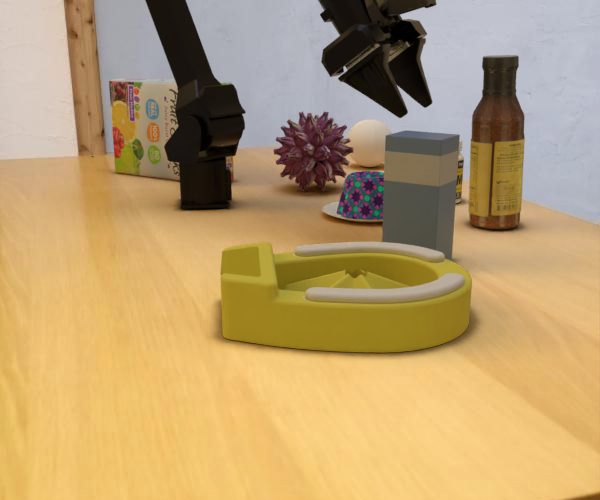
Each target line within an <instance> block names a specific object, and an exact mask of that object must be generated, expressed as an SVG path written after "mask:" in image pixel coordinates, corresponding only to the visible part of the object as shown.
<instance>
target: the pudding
mask: <svg viewBox="0 0 600 500" xmlns="http://www.w3.org/2000/svg"><path fill="white" fill-rule="evenodd" d="M339 197H340V198H339V200H338V201H333V202H330V203H327V204H325V205H323V206H322V207H321V210H322V212H323V213H325V214H326V215H328V216H331V217H334V218H338V219H342V220H346V221H349V222H350V221H351V222H355V223H356V222H358V223H383V200H384V172H382V171H378V170H377V171H370V170H362V171H353V172H351V173H349V174H347V175H346V176H345V178H344V182H343V185H342V190H341V194H340V196H339Z"/></svg>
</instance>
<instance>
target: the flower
mask: <svg viewBox="0 0 600 500" xmlns="http://www.w3.org/2000/svg"><path fill="white" fill-rule="evenodd" d="M298 116H299V119H298V123H296V122H294V121H292V119H291V118H289V119H287V121H286V123H287V124H288V126H289V127H287V126H285V124H284V125H282V126H280V130H281V131H282V132H283V134H284V136H281V137H280V136H276V138H275V142H277V143H279V144H280V145H281V146H280V147H278V148H273V155H276V156H279V158H278V159H276V160H275V164H276V165H277V166H279V165H283V166H284V168H283V170H282V171H281V172H280V173H279V175H280V178H282V179H283V178H285V177H286V176H288V180H289V181H292V180H293V179H294V178H295V180H294V182H295V184H298V191H302V192H305V189H306V187H307V188H311V186H312V184H313V182H314V183H315V184H316V187H318V188H320V190H321V191H322V192H326V190H327V187H326V186H327V185H326V184H327V183H329V182H332V183H333V184H337V183H338V180H337V179H336V177H341V178H343V179H346V177H347V176H348V173H347V172H346V171H345V170H344V167H343V166H347V167H348V166H349V165H350V162H351V161H350V160H349V159H347V156H349V154H350V153H353V152H354V149H353V148H354V147H349V146H347V143H349V142H351V141H350V138H348V139H347V138H344V137H345V136H344V133H345V131H346V130H347V129H348V125H346V124H344V125H342V126H339V124H338V123H336V122H334V121H335V119H334V117H329V111H325V110H324V111H323V112H322V115H320V116H319V114H318V115H317V114H315V115H314V116H313V113H312V112H308V113H307V114H306V115H305V113H304V111H298Z"/></svg>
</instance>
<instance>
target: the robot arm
mask: <svg viewBox="0 0 600 500" xmlns="http://www.w3.org/2000/svg"><path fill="white" fill-rule="evenodd" d="M144 1H145V4H146V6H147V9H148V12H149V14H150V17H151V21H152V22H153V26H154V28H155V31H156V34H157V36H158V39H159V41H160V43H161V47H162V49H163V52H164V55H165V57H166V61H167V63H168V65H169V68H170V71H171V73H172V76H173V79H175V82H176V84H177V88H178V93H177V100H176V106H175V114H176V118H177V123H178V128H177V129H176V130H175V132H174V133H173V134H172V136H171V137H170V138H169V140H168V141H167V142H166V144H165V145H164V148H165V152H166V155H167V158H168V161H170V162H177V163H179V176H180V180H179V193H180V200H179V209H182V210H183V209H184V210H188V209H190V210H191V209H223V208H226V209H227V208H229V207H230V202H232V200H233V194H232V193H233V192H232V191H233V190H232V181H231V169H230V168H229V167H226V157H229V156H233V157H236V155H237V151H238V147H239V144H240V143H239V142H240V140H241V139H242V137H243V134H244V130H245V129H246V123H245V117H244V115H245V114H246V109H244V107H243V106H242V104H241V102H240V99H239V95H238V91H237V88H236V86H235V84H233V83H232V84H226V85H222V84H221V83H220V82H221V81H219V80H218V79H217V78H216V76H215V75H214V73H213V71H212V68H211V67H212V66H211V65H210V62H209V60H208V57H207V54H206V51H205V49H204V46H203V43H202V41H201V38H200V36H199V32H198V30H197V26H196V24H195V22H194V19H193V16H192V13H191V10H190V8H189V4H188V2H187V0H144ZM317 2H318V3H319V5H320V6H321V8H322V9H323V11H322V12H320V14H319V16H320V18H321V19H322V22H324V23H331V24H332V26H333V27H334V29H335V30H336V32H337V34H338V35H339V36H337V37H336V38H335V39H334V40H333V41H331V42H330V43H329V44H328V45H326V46H325V47H324V48H323V49H322V53H321V64H322V65H323V68H324V69H325V70H326V72H327V74H328V76H329V78H333V77H337V76H338V78H337V80H338V81H339V82H340V83H344V84H346V85H348V86H349V87H350V88H352V89H354V90H356V91H357V92H359V93H360V94H362V95H364V96H365V97H367V98H368V99H370V100H371V101H372V102H374V103H376V104H377V105H378V106H380V107H382V108H383V109H385V110H386V111H388V112H389V113H391V114H392V115H394V116H395V117H396V118H399V119H401V118H404V117H406V115H408V113H409V110H408V108H407V105H406V103H405V101H404V98H403V96H402V93H401V91H400V89H401V90H402V91H403V92H405V94H407V95H408V96H409V97H410V98H411V99H412V100H414V101H415V102H416V103H417V104H419V105H420V106H421V107H422V108H424V109H426V108H428V107H430V106H432V104H433V99H432V94H431V92H430V88H429V85H428V81H427V78H426V75H425V70H424V68H423V63H422V59H421V57H422V53H423V50H424V46H425V45H426V43H427V39H426V36H427V35H428V32H427V31H426V29H425V28H424V26H423V24H422V23H421V21H420V20H418V19H411V18H405V19H403V17H402V16H401V15H404V14H407V13H411V12H414V11H416V10H420V9H423V8H425V9H429V8H432V7H435V6H437V0H317ZM344 67H345V68H346V71H345V69H344ZM399 88H400V89H399Z"/></svg>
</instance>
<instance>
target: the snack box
mask: <svg viewBox="0 0 600 500" xmlns="http://www.w3.org/2000/svg"><path fill="white" fill-rule="evenodd" d="M219 82H220V83H221V84H222V85H226V84H233V83H232V81H219ZM108 87H109V88H108V90H109V102H110V115H111V128H112V129H111V130H112V143H113V156H114V171H115V173H118V174H125V175H135V176H142V177H148V178H158V179H164V180H165V179H166V180H172V181H173V180H174V181H180V176H179V163H177V162H170V161H168V158H167V155H166V152H165V148H164V145H165V144H166V142H167V141H168V140H169V138H170V137H171V136H172V134H173V133H174V132H175V130H176V129H177V128H178V123H177V118H176V114H175V106H176V100H177V93H178V88H177V84H176V82H175V79H174V78H116V79H115V78H114V79H109V81H108ZM226 167H229V168H230V169H231V182H232V181H234V179H235V176H234V156H229V157H226Z"/></svg>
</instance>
